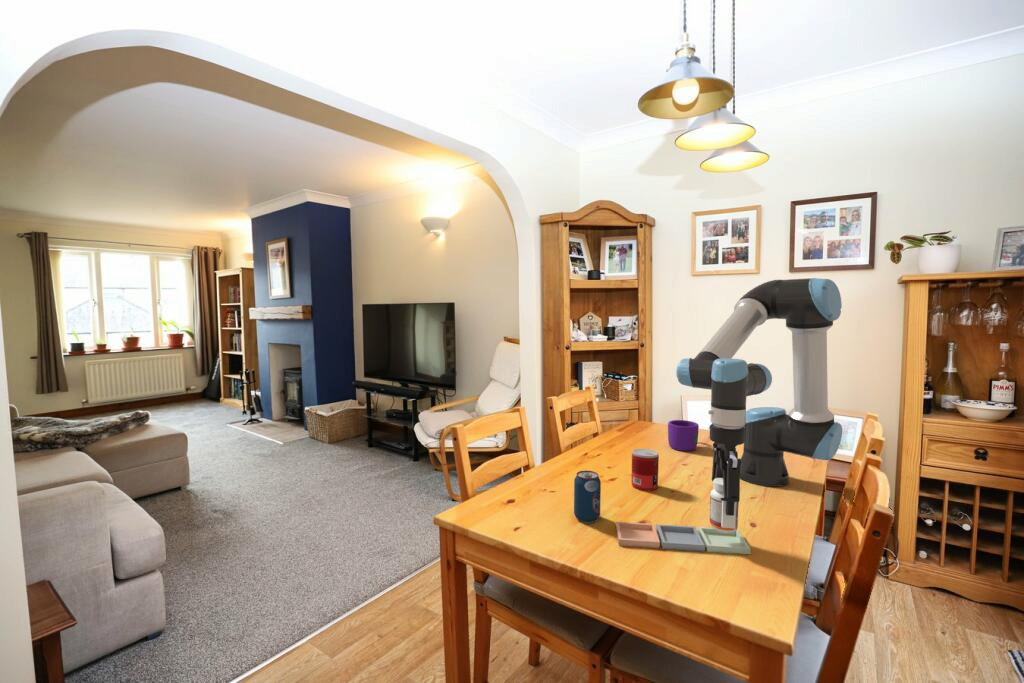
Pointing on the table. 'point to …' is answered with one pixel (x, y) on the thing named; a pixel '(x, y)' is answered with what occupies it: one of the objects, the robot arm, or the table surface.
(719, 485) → the pill bottle
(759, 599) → the table surface
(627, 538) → the dish terracotta
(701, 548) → the dish slate
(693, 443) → the mug
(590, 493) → the soda can
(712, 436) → the robot arm
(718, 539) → the dish sage
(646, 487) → the canned food
